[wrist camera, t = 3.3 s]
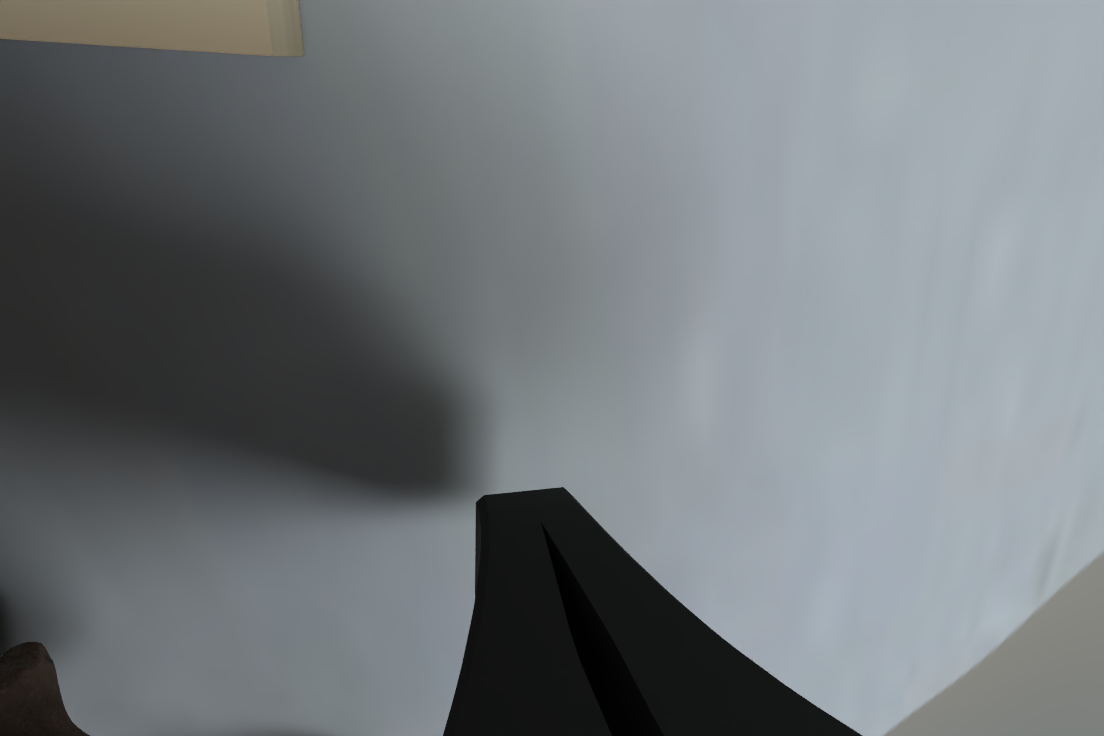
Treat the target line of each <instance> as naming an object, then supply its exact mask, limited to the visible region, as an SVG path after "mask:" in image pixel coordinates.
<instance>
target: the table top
mask: <svg viewBox="0 0 1104 736" xmlns="http://www.w3.org/2000/svg"><path fill="white" fill-rule="evenodd" d="M0 39H12V40H28V41H43V42H59V43H74V44H90V45H106V46H121V47H137V48H152V49H168V50H184V51H199V52H215V53H230V54H246V55H262V56H304V48H303V39H302V29H301V19H300V9H299V0H0Z"/></svg>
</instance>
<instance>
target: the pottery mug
mask: <svg viewBox="0 0 1104 736" xmlns="http://www.w3.org/2000/svg"><path fill="white" fill-rule="evenodd" d="M0 736H89V735H88V734H86V733H85V732H83V731H82V730H81V729H79V728H78V727H77V726H76V725H75V724H74V723H73V722H72V721H71V719H70V718H69V716H68V714H67V712H66V710H65V707H64V704H63V701H62V697H61V693H60V688H59V685H58V680H57V674H56V669H55V666H54V663H53V660H52V659H51V658H50V656H49V654H48V652H47V650H46V648H45V647H44V646H43V645H42V644H41V643H39V642H26V643H23V644H19V645H17V646H15V647H13V648H10V649H9V650H7V651H6V652H5V653H4V654H3V655H2V657H1V658H0Z"/></svg>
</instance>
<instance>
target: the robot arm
mask: <svg viewBox="0 0 1104 736" xmlns="http://www.w3.org/2000/svg"><path fill="white" fill-rule="evenodd" d="M443 736H862V735H860V734H859V733H857V732H856V731H854V730H853V729H851V728H850V727H848V726H846V725H845V724H843V723H842V722H840V721H839V720H837V719H835V718H834V717H832V716H831V715H829V714H828V713H826V712H824V711H823V710H821V709H820V708H818V707H817V706H815V705H814V704H812V703H811V702H809V701H808V700H806V699H805V698H803V697H802V696H800V695H799V694H797V693H796V692H795V691H793V690H792V689H790V688H789V687H787V686H786V685H784V684H783V683H782V682H780V681H779V680H778V679H776V678H775V677H773V676H772V675H771V674H769V673H768V672H767V671H765V670H764V669H763V668H761V667H760V666H759V665H757V664H756V663H754V662H753V661H752V660H750V659H749V658H748V657H746V656H745V655H744V654H742V653H741V652H740V651H738V650H737V649H736V648H734V647H733V646H732V645H730V644H729V643H728V642H727V641H725V640H724V639H723V638H722V637H720V636H719V635H718V634H717V633H716V632H714V631H713V630H712V629H711V628H709V627H708V626H707V625H706V624H705V623H704V622H702V621H701V620H700V619H699V618H698V617H697V616H695V615H694V614H693V613H692V612H691V611H690V610H688V609H687V608H686V607H685V606H684V605H683V604H681V603H680V602H679V601H678V600H677V599H676V598H675V597H674V596H673V595H671V594H670V593H669V592H668V591H667V590H666V589H665V588H664V587H663V586H662V585H660V584H659V583H658V582H657V581H656V580H655V579H654V578H653V577H652V576H651V575H650V574H649V573H648V572H647V571H646V570H645V569H644V568H643V567H642V566H640V565H639V564H638V563H637V562H636V561H635V560H634V559H633V558H632V557H631V556H630V555H629V554H628V553H627V552H626V551H625V550H624V549H623V548H622V547H621V546H620V545H619V544H618V543H617V542H616V541H615V540H614V539H613V538H612V537H611V536H610V535H609V534H608V533H607V532H606V531H605V530H604V529H603V528H602V527H601V526H600V525H599V523H598V522H597V521H596V520H595V519H594V518H593V517H592V516H591V515H590V514H589V513H588V512H587V511H586V510H585V509H584V508H583V507H582V506H581V504H580V503H579V502H578V501H577V500H576V499H575V498H574V497H573V496H572V495H571V494H570V493H569V492H568V491H567V490H566V489H565V488H564V487H561V488H551V489H541V490H532V491H522V492H512V493H502V494H492V495H484V496H483V497H481V498H480V499H479V500H478V501H477V502H476V556H475V604H474V609H473V615H472V620H471V625H470V629H469V634H468V639H467V644H466V649H465V653H464V658H463V663H462V667H461V671H460V675H459V679H458V683H457V687H456V691H455V695H454V699H453V702H452V706H451V710H450V713H449V717H448V720H447V723H446V727H445V730H444V734H443Z"/></svg>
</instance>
